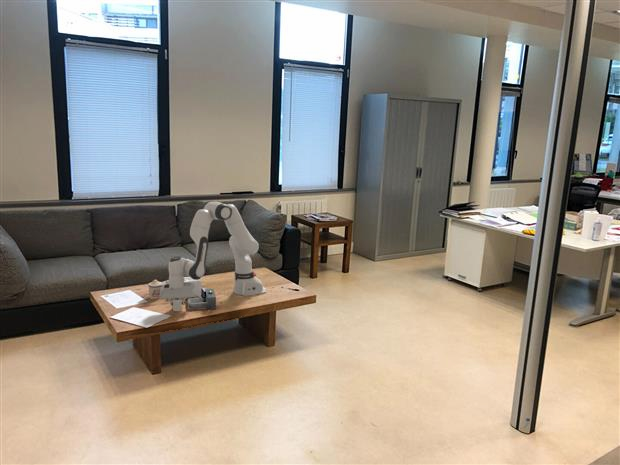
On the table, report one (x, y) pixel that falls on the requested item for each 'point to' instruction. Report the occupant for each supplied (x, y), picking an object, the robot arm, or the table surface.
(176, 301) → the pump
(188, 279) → the cable organizer
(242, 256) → the robot arm
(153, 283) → the teacup with lid
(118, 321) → the table surface
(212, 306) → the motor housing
